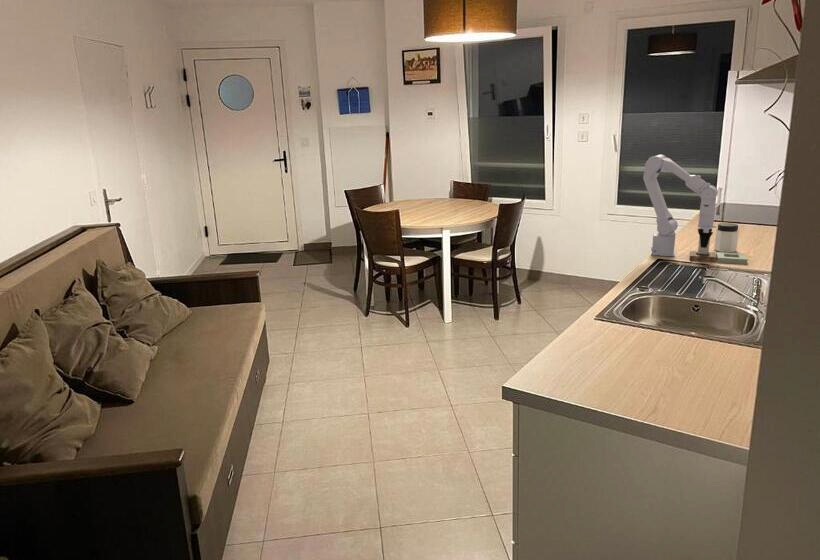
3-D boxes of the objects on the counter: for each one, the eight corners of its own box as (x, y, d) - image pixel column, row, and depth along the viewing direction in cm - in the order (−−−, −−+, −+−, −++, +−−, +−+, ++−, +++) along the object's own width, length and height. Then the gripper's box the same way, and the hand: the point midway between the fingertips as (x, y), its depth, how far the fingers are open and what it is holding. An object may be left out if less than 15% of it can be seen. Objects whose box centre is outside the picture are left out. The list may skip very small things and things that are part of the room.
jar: (739, 252, 272) (742, 226, 269) (721, 253, 272) (724, 226, 269) (728, 248, 281) (731, 222, 278) (711, 248, 281) (714, 223, 278)
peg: (697, 253, 262) (699, 235, 260) (697, 251, 265) (699, 233, 263) (708, 254, 260) (710, 236, 258) (707, 252, 264) (709, 234, 262)
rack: (717, 262, 256) (717, 257, 256) (715, 256, 266) (716, 252, 266) (746, 264, 252) (747, 259, 252) (744, 258, 262) (744, 253, 262)
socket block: (689, 260, 261) (690, 255, 260) (689, 255, 270) (689, 250, 269) (715, 262, 257) (716, 257, 257) (714, 256, 266) (715, 252, 265)
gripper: (718, 218, 250) (714, 250, 254) (716, 212, 263) (712, 243, 267) (699, 217, 253) (696, 249, 257) (698, 211, 266) (695, 242, 270)
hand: (703, 246), depth 262 cm, fingers closed on peg, 4 cm apart
